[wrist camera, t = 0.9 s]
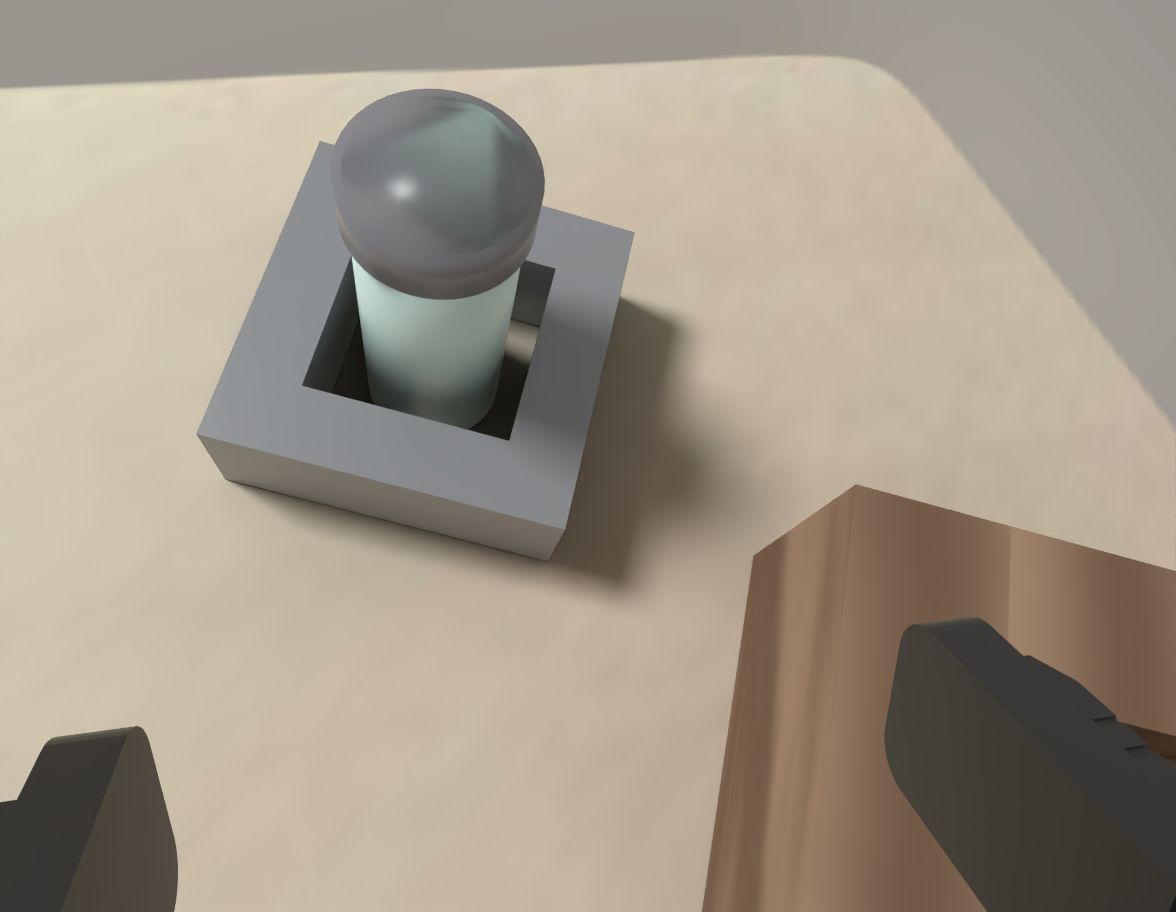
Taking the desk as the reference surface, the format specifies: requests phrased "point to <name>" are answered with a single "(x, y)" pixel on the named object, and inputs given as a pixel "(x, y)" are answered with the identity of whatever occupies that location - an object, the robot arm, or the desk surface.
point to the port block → (864, 683)
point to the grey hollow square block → (402, 441)
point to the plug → (436, 245)
